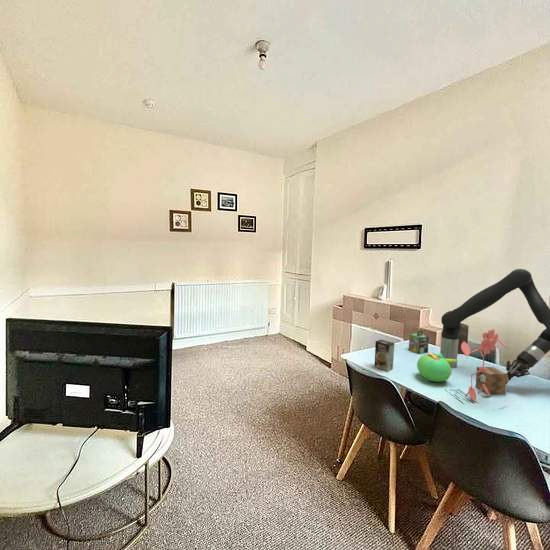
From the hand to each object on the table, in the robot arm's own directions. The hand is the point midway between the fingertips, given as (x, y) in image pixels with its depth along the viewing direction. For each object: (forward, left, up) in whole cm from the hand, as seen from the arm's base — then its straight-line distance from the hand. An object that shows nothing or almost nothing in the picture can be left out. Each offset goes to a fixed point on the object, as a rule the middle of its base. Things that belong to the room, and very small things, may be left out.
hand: (505, 379), depth 160 cm
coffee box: (-59, 0, -6) cm, 59 cm away
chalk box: (-43, +43, -6) cm, 61 cm away
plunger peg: (-6, -3, -2) cm, 7 cm away
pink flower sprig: (-10, -18, -6) cm, 22 cm away
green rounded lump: (-32, -3, -6) cm, 33 cm away
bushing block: (-7, -4, -6) cm, 10 cm away
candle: (-17, +55, -6) cm, 58 cm away
